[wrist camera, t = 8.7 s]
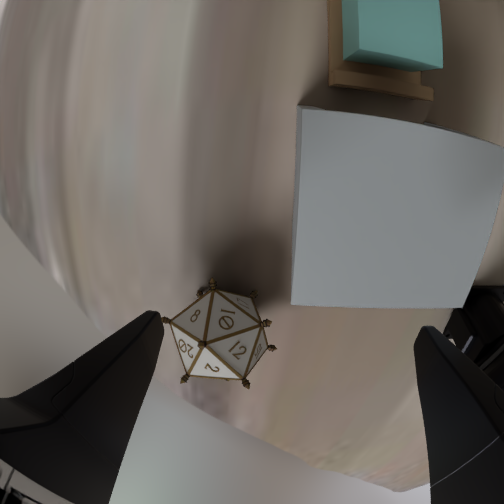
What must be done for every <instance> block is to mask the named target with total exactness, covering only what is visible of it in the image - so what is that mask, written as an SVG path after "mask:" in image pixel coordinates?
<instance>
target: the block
mask: <svg viewBox="0 0 504 504" xmlns="http://www.w3.org/2000/svg"><path fill="white" fill-rule="evenodd" d="M342 22H343V60H346V61H353V62H360V63H367V64H373V65H379V66H384V67H389V68H394V69H399V70H403V71H408V72H416V71H423V70H432V69H441V68H443V45H442V27H441V15H440V6H439V0H342Z"/></svg>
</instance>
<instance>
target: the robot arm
mask: <svg viewBox="0 0 504 504" xmlns="http://www.w3.org/2000/svg"><path fill="white" fill-rule="evenodd" d="M503 301H504V286H472V287H471V289H470V291H469V294H468V296H467V298H466V300H465V303H464V305H463V307H462V308H455V309H454V311H453V314H452V316H451V318H450V320H449V322H448V324H447V326H446V328H445V330H444V332H443V334H442V333H441V332H440V331H438V330H437V329H436V328H435V327H434V326H423V327H422V328H421V330H420V332H419V334H418V336H417V338H416V340H415V343H414V356H415V365H416V375H417V385H418V391H419V396H420V402H421V408H422V414H423V420H424V427H425V434H426V442H427V451H428V461H429V473H430V487H431V488H430V491H431V504H504V303H503ZM163 336H164V327H163V323H162V319H161V316H160V313H159V312H157V311H150V310H148V311H146V312H144V313H143V314H141V315H140V316H139V317H137V318H136V319H134V320H133V321H131V322H130V323H128V324H127V325H125V326H124V327H122V328H121V329H120V330H118V331H117V332H115V333H114V334H112V335H111V336H109V337H108V338H106V339H105V340H104V341H102V342H101V343H99V344H98V345H97V346H95V347H93V348H92V349H91V350H89V351H88V352H86V353H85V354H83V355H82V356H81V357H79V358H78V359H76V360H75V361H74V362H72V363H70V364H69V365H67V366H66V367H65V368H63V369H62V370H60V371H59V372H57V373H56V374H54V375H52V376H51V377H49V378H47V379H45V380H44V381H42V382H40V383H39V384H37V385H35V386H33V387H32V388H30V389H28V390H26V391H24V392H23V393H21V394H19V395H17V396H14V397H9V398H0V504H109V501H110V497H111V494H112V491H113V488H114V484H115V482H116V478H117V475H118V472H119V469H120V466H121V462H122V460H123V457H124V454H125V451H126V448H127V445H128V442H129V439H130V436H131V433H132V431H133V428H134V425H135V422H136V419H137V417H138V414H139V411H140V408H141V406H142V403H143V400H144V397H145V395H146V392H147V390H148V387H149V384H150V382H151V379H152V376H153V373H154V370H155V367H156V363H157V359H158V355H159V351H160V348H161V344H162V340H163ZM449 339H453V340H454V342H455V344H456V346H455V345H454V344H453V343H452V342H451V341H450V340H449Z"/></svg>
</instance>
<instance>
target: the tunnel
mask: <svg viewBox="0 0 504 504" xmlns="http://www.w3.org/2000/svg"><path fill="white" fill-rule="evenodd" d="M503 183H504V147H502V146H499V145H496V144H494V143H491V142H489V141H486V140H483V139H480V138H477V137H475V136H472V135H469V134H466V133H462V132H459V131H456V130H453V129H450V128H446V127H443V126H439V125H435V124H431V123H427V122H424V125H423V124H418V123H414V122H408V121H403V120H398V119H392V118H386V117H380V116H373V115H366V114H358V113H350V112H341V111H331V110H324V109H321V108H317V107H314V106H304V105H297V130H296V162H295V186H294V207H293V225H292V280H291V305H305V306H327V307H356V308H462V307H463V305H464V303H465V300H466V298H467V296H468V294H469V291H470V289H471V287H472V284H473V282H474V279H475V277H476V274H477V272H478V269H479V266H480V264H481V261H482V258H483V255H484V252H485V249H486V246H487V243H488V240H489V237H490V234H491V231H492V227H493V224H494V220H495V217H496V213H497V209H498V205H499V201H500V197H501V193H502V188H503Z"/></svg>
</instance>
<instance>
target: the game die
mask: <svg viewBox="0 0 504 504" xmlns="http://www.w3.org/2000/svg"><path fill="white" fill-rule="evenodd" d="M216 283H217V282H216V281H215V280H214V279H213V278H211V280H210V282H209V284H210V287H211V290H209V291H208V292H207V293H205V294H204V295H203V293H202V291H199V290H198V292H197V296H198V297H199V299H197V300H196V301H195V302H193V303H192V304H191V305H189V306H188V307H187V308H186V309H184V310H183V311H182V312H180V313H179V314H178V315H176V316H175V317H174V318H172V319H168V317H167V318H166V317H165V316H164V317H162V318H161V319H162V322H163V323H165V324H166V323H169V324H170V327H171V330H172V333H173V336H174V339H175V342H176V345H177V348H178V351H179V354H180V357H181V360H182V363H183V366H184V369H185V372H186V374H185V375H184V376H183V377H182V378H181V382H180V384H181V383H185V382H186V381H187V380H188V378H189V377H190V376H191V377H201V378H213V379H225V380H227V381H229V380H242V384H243V386H244V387H246V388H247V389H249V388H250V383H249V380H247V379H246V377H247V375H248V374H249V373H250V371H251V370H252V369H253V367H254V366H255V365H256V363H257V362H258V361H259V359H260V358H261V357H262V355H263V354H264V352H265V351H266V350H267V349H268V350H269V351H270V350H271V351H272V352H273V351H274V350H276V349H277V348H276V347H275V345H268V342H267V338H266V335H265V331H264V327H267V326H268V327H270V324H271V323H272V321H270V320H268V319H266V320H263V322H262V321H261V318H260V316H259V313H258V311H257V308H256V306H255V303H254V301H253V298H256V296H257V292H258V290H256V291H252V293H251V295H250V297H248V296H244V295H240V294H236V293H231V292H227V291H223V290H219V289H216V286H217V285H216ZM186 383H187V382H186Z"/></svg>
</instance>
